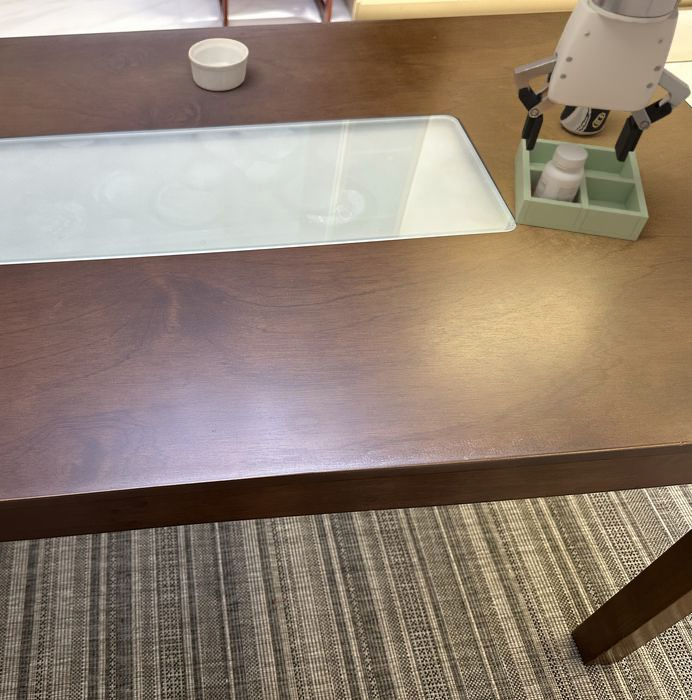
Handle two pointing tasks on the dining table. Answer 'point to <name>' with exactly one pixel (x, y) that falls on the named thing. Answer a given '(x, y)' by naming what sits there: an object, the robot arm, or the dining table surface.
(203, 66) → the ramekin
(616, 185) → the grid
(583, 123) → the beverage can
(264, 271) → the dining table surface
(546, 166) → the pill bottle
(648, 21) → the robot arm
